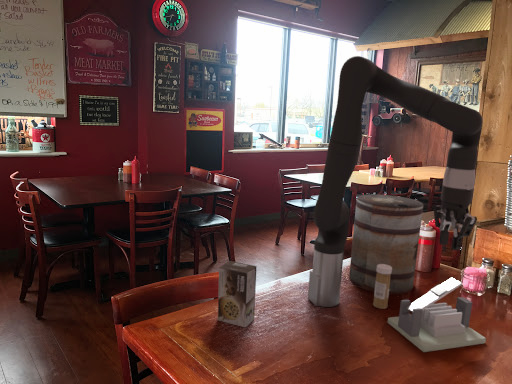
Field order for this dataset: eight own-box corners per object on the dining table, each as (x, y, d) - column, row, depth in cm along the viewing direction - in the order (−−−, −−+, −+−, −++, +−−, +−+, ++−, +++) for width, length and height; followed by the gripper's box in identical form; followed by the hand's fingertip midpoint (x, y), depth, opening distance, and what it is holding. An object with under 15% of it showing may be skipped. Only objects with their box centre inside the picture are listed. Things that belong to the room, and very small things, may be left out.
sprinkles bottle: (390, 307, 136) (395, 267, 133) (380, 310, 134) (385, 269, 131) (379, 301, 140) (383, 262, 137) (369, 304, 137) (373, 264, 135)
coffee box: (255, 318, 124) (257, 265, 121) (245, 328, 119) (247, 273, 116) (227, 311, 128) (229, 259, 125) (216, 320, 122) (218, 266, 119)
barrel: (424, 283, 157) (434, 203, 151) (393, 300, 141) (404, 211, 136) (369, 265, 173) (377, 192, 167) (336, 279, 157) (344, 198, 151)
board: (423, 352, 111) (427, 319, 109) (386, 322, 126) (390, 292, 124) (485, 343, 117) (490, 311, 115) (443, 315, 132) (447, 287, 130)
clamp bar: (415, 315, 116) (414, 311, 116) (407, 309, 119) (405, 305, 119) (461, 284, 119) (460, 281, 118) (452, 279, 122) (451, 276, 122)
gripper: (428, 180, 119) (420, 240, 123) (467, 190, 106) (457, 256, 109) (450, 180, 122) (442, 238, 125) (491, 190, 108) (480, 255, 112)
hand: (449, 246), depth 117 cm, fingers open, 4 cm apart
